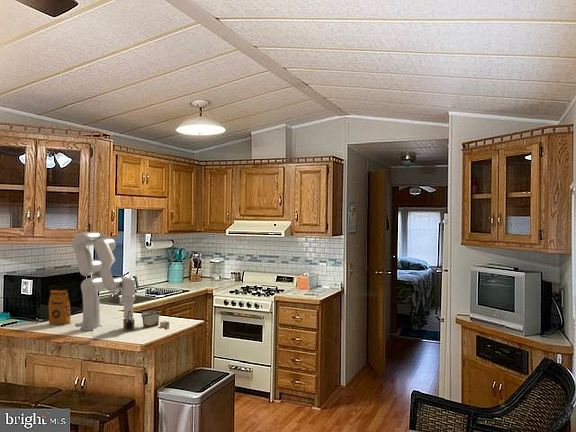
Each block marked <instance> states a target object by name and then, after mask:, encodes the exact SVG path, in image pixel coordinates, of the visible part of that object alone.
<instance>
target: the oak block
mask: <svg viewBox="0 0 576 432" xmlns="http://www.w3.org/2000/svg"><path fill="white" fill-rule="evenodd" d="M159 324H160V325H159V326H160V327H161V328H164V330H168V329H170V321H167V320H165V321H159Z"/></svg>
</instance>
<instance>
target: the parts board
mask: <svg viewBox="0 0 576 432" xmlns="http://www.w3.org/2000/svg"><path fill="white" fill-rule="evenodd" d="M117 330H118V333H127V332H137V331H141V330H140V327H139V326H135V330H130V331H124V329H123V327H120V328H117Z"/></svg>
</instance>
